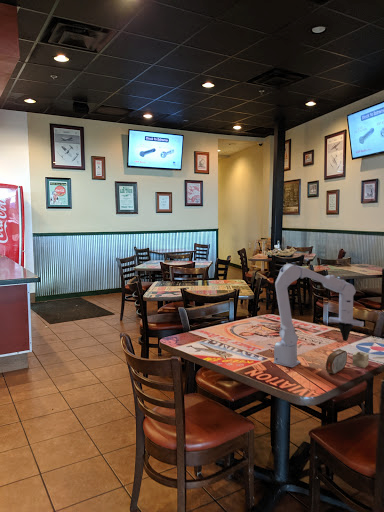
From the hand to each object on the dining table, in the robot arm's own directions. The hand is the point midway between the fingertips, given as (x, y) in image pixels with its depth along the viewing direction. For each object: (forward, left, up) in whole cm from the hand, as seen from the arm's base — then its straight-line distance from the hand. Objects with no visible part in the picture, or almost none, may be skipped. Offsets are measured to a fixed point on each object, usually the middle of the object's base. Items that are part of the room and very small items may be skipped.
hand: (345, 340), depth 171 cm
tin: (+1, -12, -11) cm, 16 cm away
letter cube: (+6, +1, -10) cm, 12 cm away
